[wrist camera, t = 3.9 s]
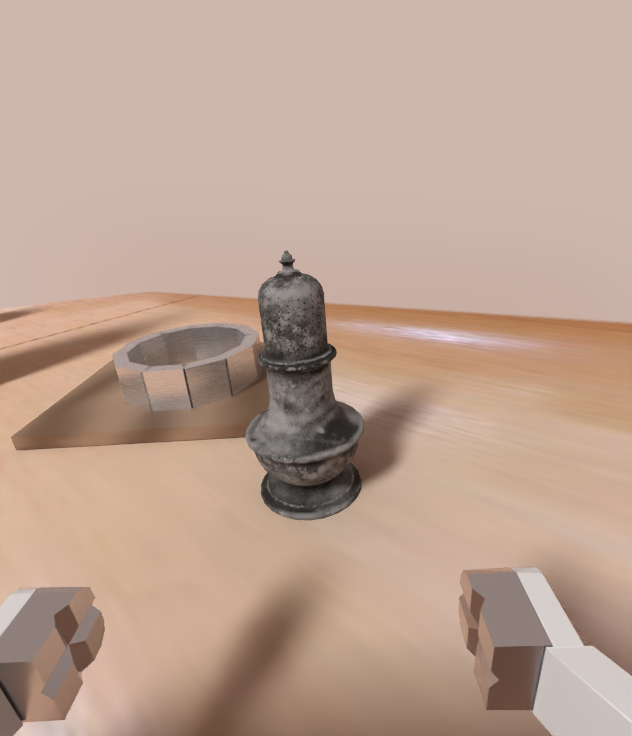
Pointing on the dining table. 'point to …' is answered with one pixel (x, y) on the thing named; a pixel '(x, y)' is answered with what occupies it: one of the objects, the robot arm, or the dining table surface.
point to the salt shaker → (302, 405)
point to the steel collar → (188, 366)
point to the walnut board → (137, 416)
